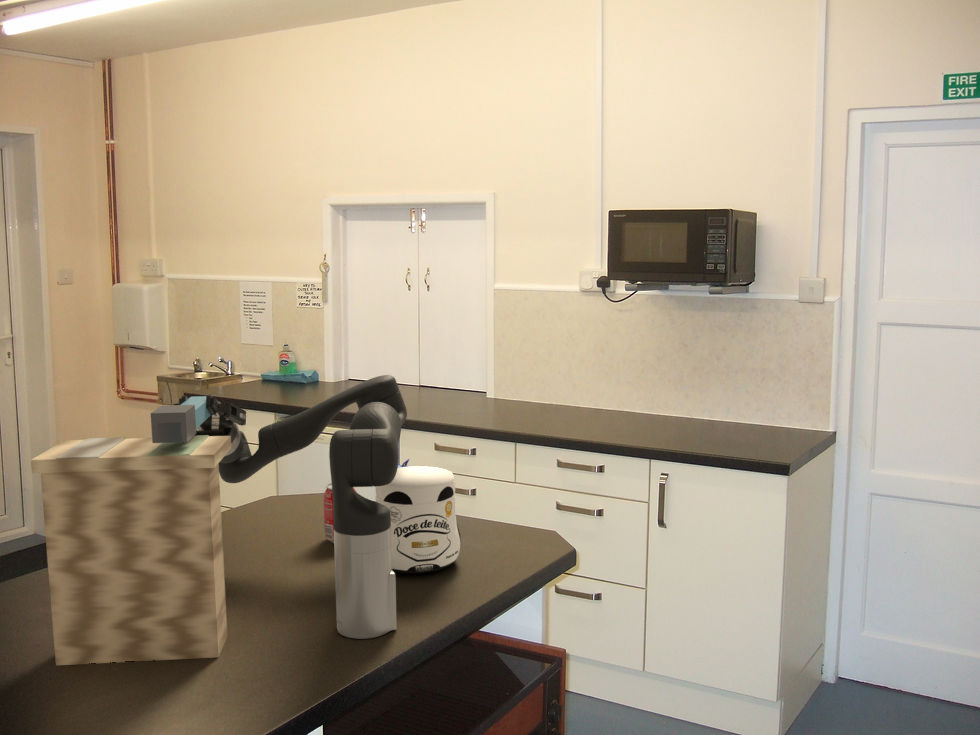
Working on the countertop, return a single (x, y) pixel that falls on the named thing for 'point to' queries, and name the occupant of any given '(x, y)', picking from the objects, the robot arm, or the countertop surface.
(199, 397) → the two-tone rectangular bar
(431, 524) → the doce de leite tub
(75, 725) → the countertop surface
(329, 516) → the soda can
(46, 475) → the wavy striped plinth
